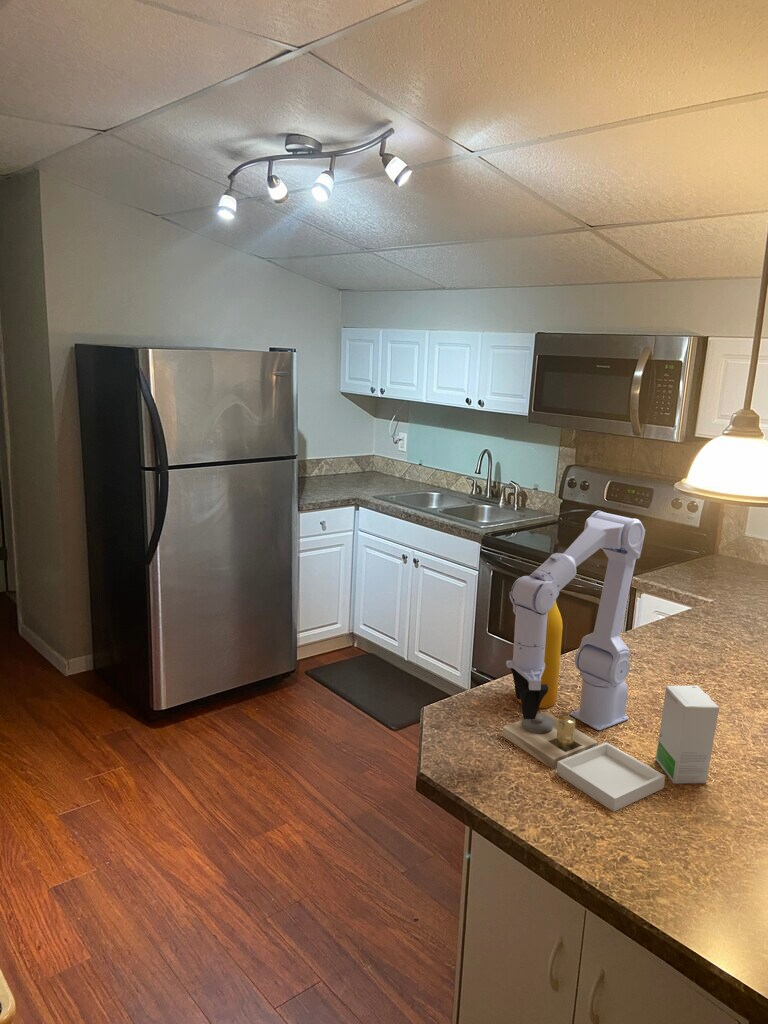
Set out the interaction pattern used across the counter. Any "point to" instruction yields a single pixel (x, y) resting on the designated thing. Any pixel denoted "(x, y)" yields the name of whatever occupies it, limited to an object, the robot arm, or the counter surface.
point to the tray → (610, 776)
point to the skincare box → (686, 734)
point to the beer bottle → (551, 657)
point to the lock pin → (565, 733)
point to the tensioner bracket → (544, 739)
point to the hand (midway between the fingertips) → (525, 708)
